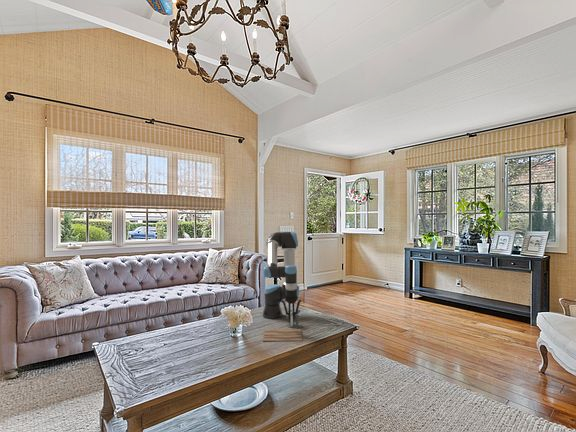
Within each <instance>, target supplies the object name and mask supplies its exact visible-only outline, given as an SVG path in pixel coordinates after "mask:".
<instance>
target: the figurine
mask: <svg viewBox="0 0 576 432" xmlns="http://www.w3.org/2000/svg"><path fill="white" fill-rule="evenodd" d="M290 310H291V315H293V309H290ZM287 312H288V313H289V309H287ZM300 312H301V310H300V309H298V313H297V315H295V320H293V326H291V320H289V315H286V318H285V320H286V322H287V323H286V327H287V328H288V329H289V328H290V329H301V327H302V326H303V324H302V323H300V322H299V319H300V316H299V314H300Z"/></svg>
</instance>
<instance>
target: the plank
mask: <svg viewBox="0 0 576 432" xmlns="http://www.w3.org/2000/svg"><path fill="white" fill-rule="evenodd" d="M276 335H302V329H301V328H290V329H289V328H287V329H264V332H263V337H264V336H276Z"/></svg>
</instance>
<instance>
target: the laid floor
mask: <svg viewBox="0 0 576 432" xmlns="http://www.w3.org/2000/svg"><path fill="white" fill-rule="evenodd" d="M302 335H303V334H301V335H276V336H264V335H263V339H262V342H263V343H267V342H268V343H269V342H270V343H274V342H279V343H281V342H303V337H302Z"/></svg>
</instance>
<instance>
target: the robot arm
mask: <svg viewBox="0 0 576 432" xmlns="http://www.w3.org/2000/svg"><path fill="white" fill-rule="evenodd" d="M298 241H299V240H298V235H297V233H296V232H295V231H277V232H274V233H272V234H270V236H268V238H267V239H266V242H265V246H266V249H267V253H266V266H264V267H263V277H264V278H265V279H267V278H271V279H277V278H282V279H283V280H284V281H283V283H282V286H281V285H280V284H278V283H277V284H269V285H266V287H264V306H263V307H264V308H263V310H262V317H263V318H265V319H271V320H272V319H279V318H281V317H282V316H283V310H282V308H281V303H282V305H283V308H284V311H285V314H286V316H287V315H289V320H291V322H290V323H291V326H293V320H295V315H298V314H297V313H298V310H299V308H300V303H301V302H302V299H301V298H299V294H300V286H299V285H298V283H297V280H298V279H297V276H298V275H297V272H298V270H297V266H296V260H295V259H296V257H295V251H296V250H297V248H298V246H299V242H298ZM279 247H280V248H281V250H282V251H283V266H278V248H279ZM296 302H297V303H296ZM286 303H287V304H288V309H287V305H286ZM295 303H296V307H295ZM291 304H292V309H291ZM288 310H289V312H288ZM291 310H292V312H293V315H291V314H292V312H291Z"/></svg>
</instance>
